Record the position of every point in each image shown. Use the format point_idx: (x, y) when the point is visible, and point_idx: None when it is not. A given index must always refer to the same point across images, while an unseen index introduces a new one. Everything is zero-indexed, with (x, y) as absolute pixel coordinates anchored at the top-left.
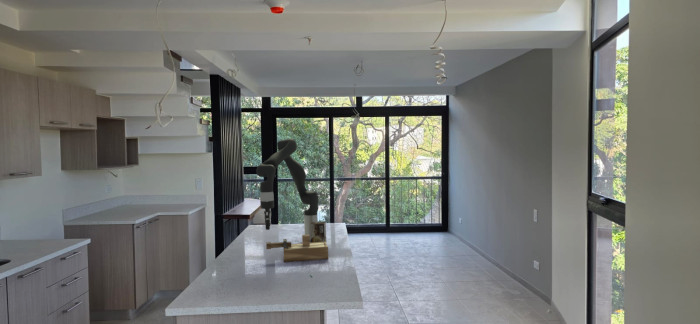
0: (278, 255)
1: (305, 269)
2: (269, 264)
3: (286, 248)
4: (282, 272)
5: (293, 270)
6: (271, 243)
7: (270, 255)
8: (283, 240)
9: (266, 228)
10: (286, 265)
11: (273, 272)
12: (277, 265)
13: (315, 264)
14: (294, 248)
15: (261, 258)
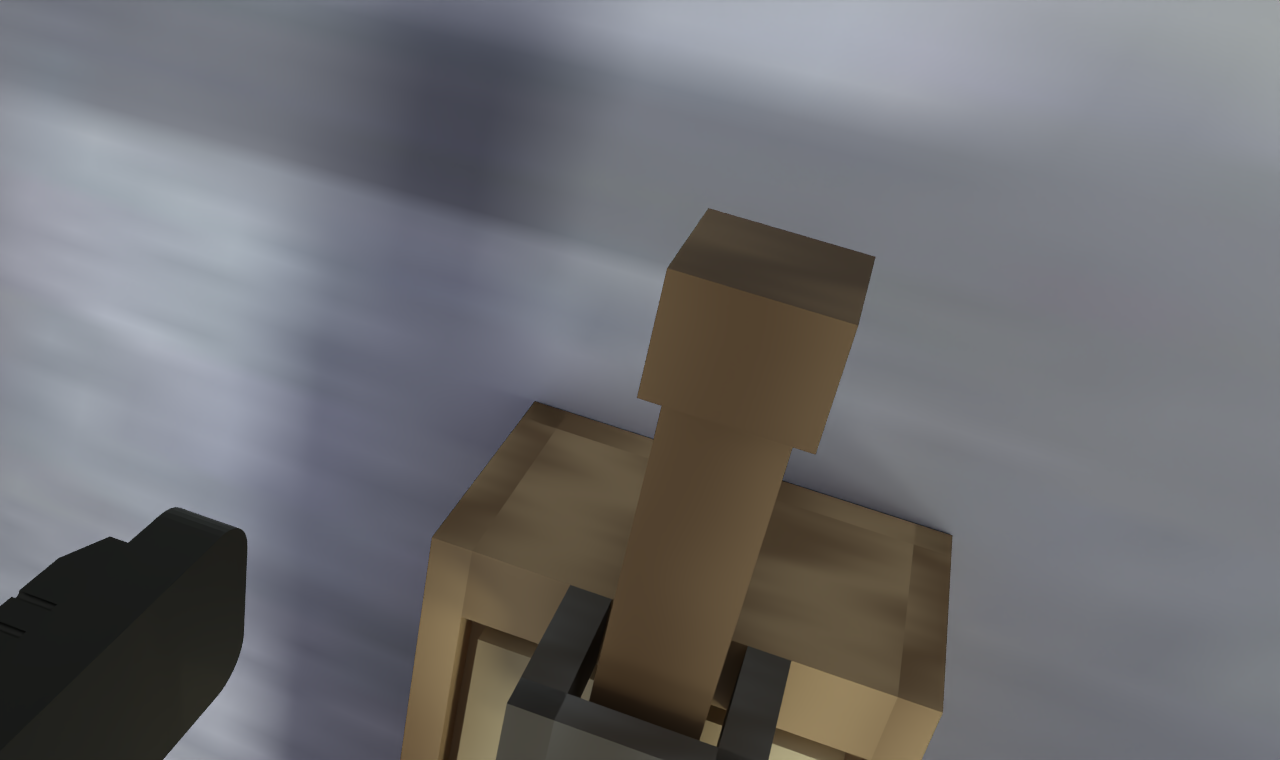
0: (1091, 469)
1: (79, 541)
2: (522, 117)
3: (537, 633)
4: (11, 208)
5: (71, 387)
6: (714, 429)
7: (1223, 320)
8: (610, 748)
9: (82, 555)
10: (344, 380)
11: (37, 67)
12: (399, 243)
13: (256, 729)
14: (463, 748)
15: (1100, 52)
